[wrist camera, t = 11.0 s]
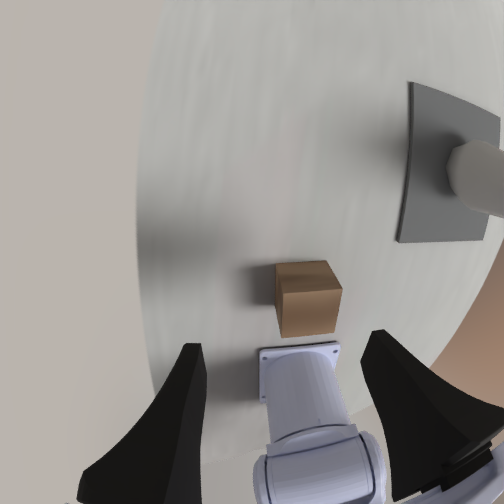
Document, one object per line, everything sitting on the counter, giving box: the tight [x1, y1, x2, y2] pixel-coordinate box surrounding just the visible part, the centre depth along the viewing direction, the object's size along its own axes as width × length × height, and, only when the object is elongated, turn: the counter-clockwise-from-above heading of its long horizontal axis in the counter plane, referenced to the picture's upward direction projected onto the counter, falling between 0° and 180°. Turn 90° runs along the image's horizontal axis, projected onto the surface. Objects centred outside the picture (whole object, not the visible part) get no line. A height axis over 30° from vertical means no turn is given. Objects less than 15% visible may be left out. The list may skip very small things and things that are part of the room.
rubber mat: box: [397, 82, 500, 243], centre depth 17 cm, size 13×12×1 cm
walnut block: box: [275, 261, 343, 338], centre depth 20 cm, size 4×4×4 cm
